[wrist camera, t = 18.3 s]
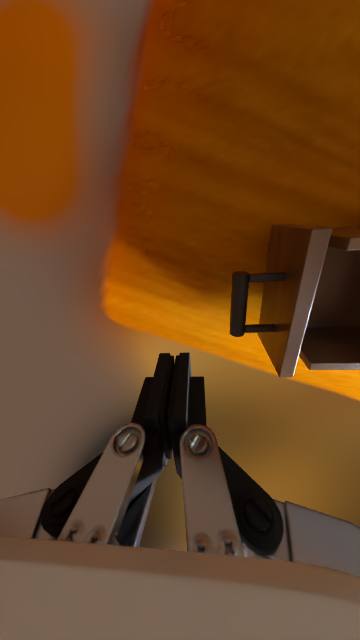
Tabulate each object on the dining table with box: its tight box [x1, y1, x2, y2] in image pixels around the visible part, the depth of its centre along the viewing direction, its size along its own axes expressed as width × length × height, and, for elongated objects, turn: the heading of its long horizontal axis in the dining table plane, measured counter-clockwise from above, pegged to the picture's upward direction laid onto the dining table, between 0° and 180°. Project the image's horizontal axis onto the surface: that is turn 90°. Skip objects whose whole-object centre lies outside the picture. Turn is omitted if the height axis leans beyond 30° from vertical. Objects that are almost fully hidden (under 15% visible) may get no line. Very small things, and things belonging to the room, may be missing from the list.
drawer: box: [230, 223, 360, 377], centre depth 17 cm, size 19×12×7 cm, turn 95°
